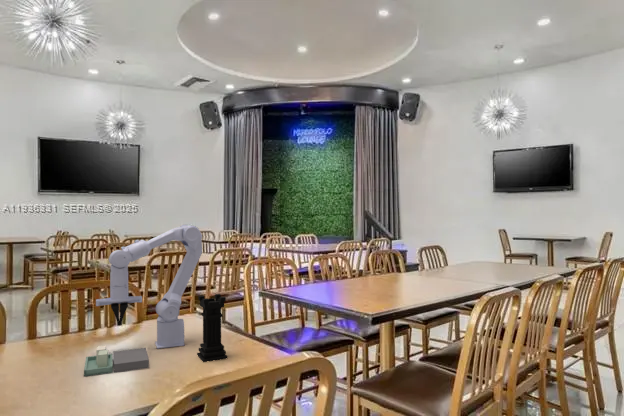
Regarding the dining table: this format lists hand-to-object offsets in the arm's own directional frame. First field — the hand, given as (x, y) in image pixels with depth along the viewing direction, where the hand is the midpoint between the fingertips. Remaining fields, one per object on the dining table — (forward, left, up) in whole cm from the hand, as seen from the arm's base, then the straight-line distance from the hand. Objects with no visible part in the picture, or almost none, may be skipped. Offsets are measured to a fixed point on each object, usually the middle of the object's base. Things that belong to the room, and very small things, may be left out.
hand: (119, 324), depth 156 cm
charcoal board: (-3, +14, -9) cm, 17 cm away
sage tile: (+4, +16, -6) cm, 17 cm away
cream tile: (+4, +10, -6) cm, 13 cm away
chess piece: (-28, +18, -10) cm, 35 cm away
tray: (+6, +14, -9) cm, 18 cm away
